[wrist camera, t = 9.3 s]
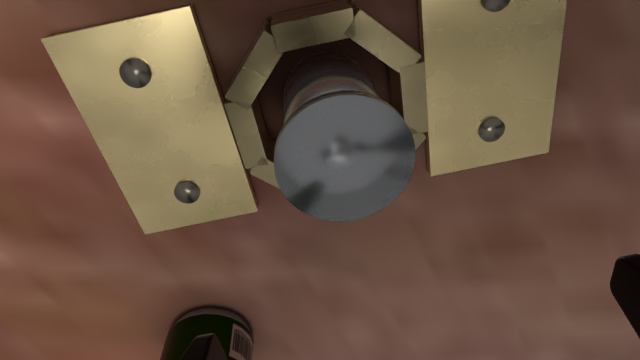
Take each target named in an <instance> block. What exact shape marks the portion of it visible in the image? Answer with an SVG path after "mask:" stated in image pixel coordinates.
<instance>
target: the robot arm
mask: <svg viewBox="0 0 640 360" xmlns="http://www.w3.org/2000/svg"><path fill="white" fill-rule="evenodd" d="M610 288H611V292H612V294H613V296H614V297H615V299H616V301H617V302H618V304H619V306H620V307H621V309H622V310H623V312H624V314H625V315H626V317H627V319H628V320H629V322H630V324H631V325H632V327H633V328H634V330H635V332H636V333H637V335H638V337H639V338H640V255H639V254H633V255H628V256H622V257H619V258H618V259H617V260H616V262H615V266H614V269H613V273H612V277H611V281H610ZM180 360H227V358H226V355H225V352H224V350H223V348H222V346H221V344H220V342H219V340H218V338H217V336H216V335H215V334H214V333H209V334H204V335H199V336H197V337H195V338H194V339H193V341H192V342H191V344H190V345H189V347H188V348H187V350H186V351H185V352H184V354H183V355H182V357H181V358H180Z"/></svg>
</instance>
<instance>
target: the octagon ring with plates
mask: <svg viewBox="0 0 640 360" xmlns="http://www.w3.org/2000/svg"><path fill="white" fill-rule="evenodd" d="M417 4H418V21H419V38H420V54H419V53H418V52H417V51H416V50H415V49H413V48H412V47H411V46H410V45H409V44H408V43H407V42H405V41H404V40H403V39H402V38H400V37H399V36H398V35H396V34H395V33H394V32H392V31H391V30H390V29H388V28H387V27H386V26H384V25H383V24H382V23H380V22H379V21H378V20H376V19H375V18H374V17H372V16H371V15H370V14H368V13H367V12H366V11H364V10H363V9H362V8H360V7H359V6H358V5H356V4H355V3H354V2H352V1H351V0H350V2H349V3H347V2H346V1H345V0H335V1H331V2H326V3H321V4H317V5H312V6H308V7H303V8H298V9H294V10H289V11H285V12H280V13H275V14H272V17H271V21H269V20H268V19H266V20H265V21H264V23H263V25H262V27H261V28H260V30H259V32H258V33H257V35H256V37H255V39H254V40H253V42H252V44H251V46H250V47H249V49H248V51H247V53H246V54H245V56H244V58H243V60H242V61H241V63H240V65H239V66H238V68H237V70H236V72H235V73H234V75H233V77H232V79H231V81H230V84H229V87H228V90H227V93H226V96H225V98H226V101H225V102H224V99H223V96H222V93H221V89H220V86H219V83H218V80H217V77H216V74H215V71H214V68H213V65H212V62H211V59H210V56H209V53H208V50H207V47H206V44H205V41H204V38H203V35H202V32H201V29H200V26H199V23H198V20H197V17H196V14H195V11H194V8H193V5H192V4H190V5H186V6H181V7H176V8H172V9H167V10H163V11H158V12H154V13H149V14H145V15H140V16H135V17H131V18H126V19H122V20H117V21H113V22H108V23H103V24H99V25H94V26H90V27H85V28H81V29H76V30H72V31H67V32H62V33H58V34H53V35H49V36H46V37H44V38H42V39H41V41H42V43H43V44H44V46H45V48H46V50H47V52H48V54H49V56H50V57H51V59H52V61H53V63H54V65H55V67H56V69H57V71H58V72H59V74H60V76H61V78H62V80H63V82H64V84H65V86H66V87H67V89H68V91H69V93H70V95H71V97H72V99H73V100H74V102H75V104H76V106H77V108H78V110H79V112H80V114H81V115H82V117H83V119H84V121H85V123H86V125H87V127H88V128H89V130H90V132H91V134H92V136H93V138H94V140H95V142H96V143H97V145H98V147H99V149H100V151H101V153H102V155H103V157H104V158H105V160H106V162H107V164H108V166H109V168H110V170H111V171H112V173H113V175H114V177H115V179H116V181H117V183H118V185H119V186H120V188H121V190H122V192H123V194H124V196H125V198H126V200H127V201H128V203H129V205H130V207H131V209H132V211H133V213H134V214H135V216H136V218H137V220H138V222H139V224H140V226H141V228H142V229H143V231H144V233H145V234H149V233H154V232H159V231H164V230H169V229H174V228H179V227H184V226H189V225H194V224H199V223H203V222H208V221H213V220H218V219H223V218H228V217H233V216H238V215H243V214H248V213H253V212H258V202H257V199H256V196H255V193H254V190H253V187H252V184H251V180H250V177H249V174H248V171H247V169H248V168H251V169H250V174H251V175H253V176H255V177H257V178H259V179H261V180H263V181H265V182H267V183H269V184H271V185H273V186H275V187H277V188H279V189H280V187H279V185H278V183H277V180H276V176H275V172H274V151H275V144H276V140H275V139H274V138H272V137H270V136H268V133H267V129H266V125H265V122H264V118H263V115H262V111H261V108H260V104H259V101H258V97H257V95H258V93H259V91H260V90H261V88H262V86H263V85H264V83H265V82H266V80H267V78H268V77H269V75H270V73H271V72H272V70H273V69H274V67H275V65H276V64H277V62H278V61H279V59H280V57H281V56H282V54H283V52H285V51H290V50H295V49H299V48H304V47H309V46H313V45H318V44H323V43H327V42H332V41H337V40H341V39H346V38H351V39H352V40H353V41H355V42H356V43H358V44H359V45H360V46H362V47H363V48H365V49H366V50H367V51H369V52H370V53H372V54H373V55H374V56H376V57H377V58H379V59H380V60H381V61H383V62H384V63H386V64H387V65H388V75H389V85H390V95H391V105H392V106H393V107H394V108H395V109H396V110H397V111H398V112H399V114H400V115H401V116H402V118H403V119H404V121H405V122H406V124H407V125H408V127H409V129H410V131H411V133H412V136H413V139H414V143H415V150H416V149H417V148H418V147H419V146H420V144H421V143H422V142H423V141H424V140H425V141H426V158H427V171H428V173H429V174H430V176H435V175H440V174H445V173H450V172H455V171H460V170H465V169H470V168H475V167H480V166H485V165H489V164H494V163H499V162H504V161H509V160H514V159H519V158H524V157H529V156H534V155H539V154H544V153H549V144H550V136H551V128H552V120H553V112H554V103H555V95H556V87H557V79H558V70H559V62H560V54H561V46H562V37H563V29H564V21H565V13H566V5H567V0H417ZM420 57H421V58H420ZM423 132H425V135H424V133H423Z"/></svg>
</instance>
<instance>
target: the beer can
mask: <svg viewBox="0 0 640 360" xmlns="http://www.w3.org/2000/svg"><path fill="white" fill-rule="evenodd" d="M209 333H214V334H215V335H216V336H217V338H218V340H219V342H220V344H221V346H222V348H223V350H224V352H225V355H226V358H227V360H252V355H253V341H254V340H253V337H252V335H251V332H250V330H249V328H248V326H247V323H246V322H245V321H244V320H243V319H242V318H241V317H240V316H238V315H237V314H235V313H233V312H231V311H228V310H224V309H220V308H202V309H197V310H193V311H191V312H189V313H187V314H185V315H184V316H183V317H181V318H180V319H179V320H178V321H177V322H176V323H175V324H174V326H173V327H172V328H171V329H170V331H169V333H168V335H167V338H166V341H165V344H164V348H163V351H162V355H161V358H160V360H180V358H181V357H182V355H183V354H184V352H185V351H186V350H187V348H188V347H189V345H190V344H191V342H192V341H193V339H194V338H195V337H197V336H199V335H204V334H209Z"/></svg>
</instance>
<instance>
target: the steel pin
mask: <svg viewBox="0 0 640 360" xmlns="http://www.w3.org/2000/svg"><path fill="white" fill-rule="evenodd" d="M415 158H416V150H415V143H414V139H413V136H412V133H411V131H410V129H409V127H408V125H407V124H406V122H405V121H404V119H403V118H402V116H401V115H400V114H399V112H398V111H397V110H396V109H395V108H394V107H393V106H391V105H390V104H389V103H388V102H386V101H385V100H383V99H381V98H380V97H379V96H378V94H377V92H376V90H375V89H374V87H373V85H372V84H371V82H370V80H369V79H368V77H367V75H366V73H365V72H364V70H363V69H362V67H361V66H360V65H359V64H358V63H357V62H356V61H354V60H353V59H352V58H350V57H348V56H346V55H344V54H341V53H337V52H319V53H315V54H312V55H310V56H307V57H306V58H304V59H302V60H301V61H300V62H299V63H297V64H296V65H295V66H294V68H293V69H292V70H291V72H290V73H289V75H288V77H287V79H286V82H285V85H284V90H283V126H282V128H281V130H280V132H279V135H278V137H277V140H276V144H275V151H274V172H275V176H276V180H277V183H278V185H279V187H280V189H281V191H282V193H283V194H284V195H285V197H286V198H287V199H288V200H289V201H290V202H291V203H292V204H293V205H294V206H295V207H296V208H298V209H299V210H301V211H302V212H304V213H306V214H308V215H310V216H313V217H315V218H319V219H322V220H328V221H351V220H357V219H361V218H364V217H367V216H370V215H372V214H374V213H376V212H378V211H380V210H382V209H383V208H385V207H387V206H388V205H389V204H390V203H392V202H393V201H394V200H395V199H396V198H397V197H398V196H399V195H400V194H401V192H402V191H403V190H404V188H405V187H406V185H407V183H408V182H409V180H410V177H411V175H412V172H413V169H414V165H415Z"/></svg>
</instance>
